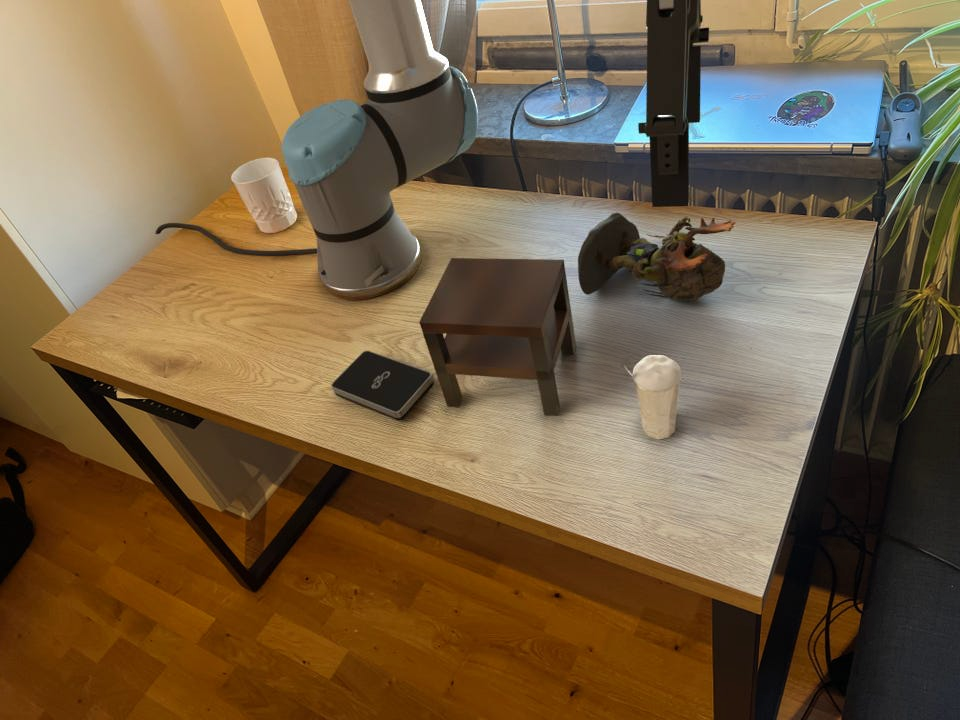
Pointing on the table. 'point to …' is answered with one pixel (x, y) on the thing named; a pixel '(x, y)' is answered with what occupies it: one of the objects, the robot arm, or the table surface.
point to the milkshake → (657, 394)
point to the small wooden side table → (500, 323)
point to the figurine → (652, 258)
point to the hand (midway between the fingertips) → (677, 160)
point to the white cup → (265, 194)
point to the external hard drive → (383, 384)
